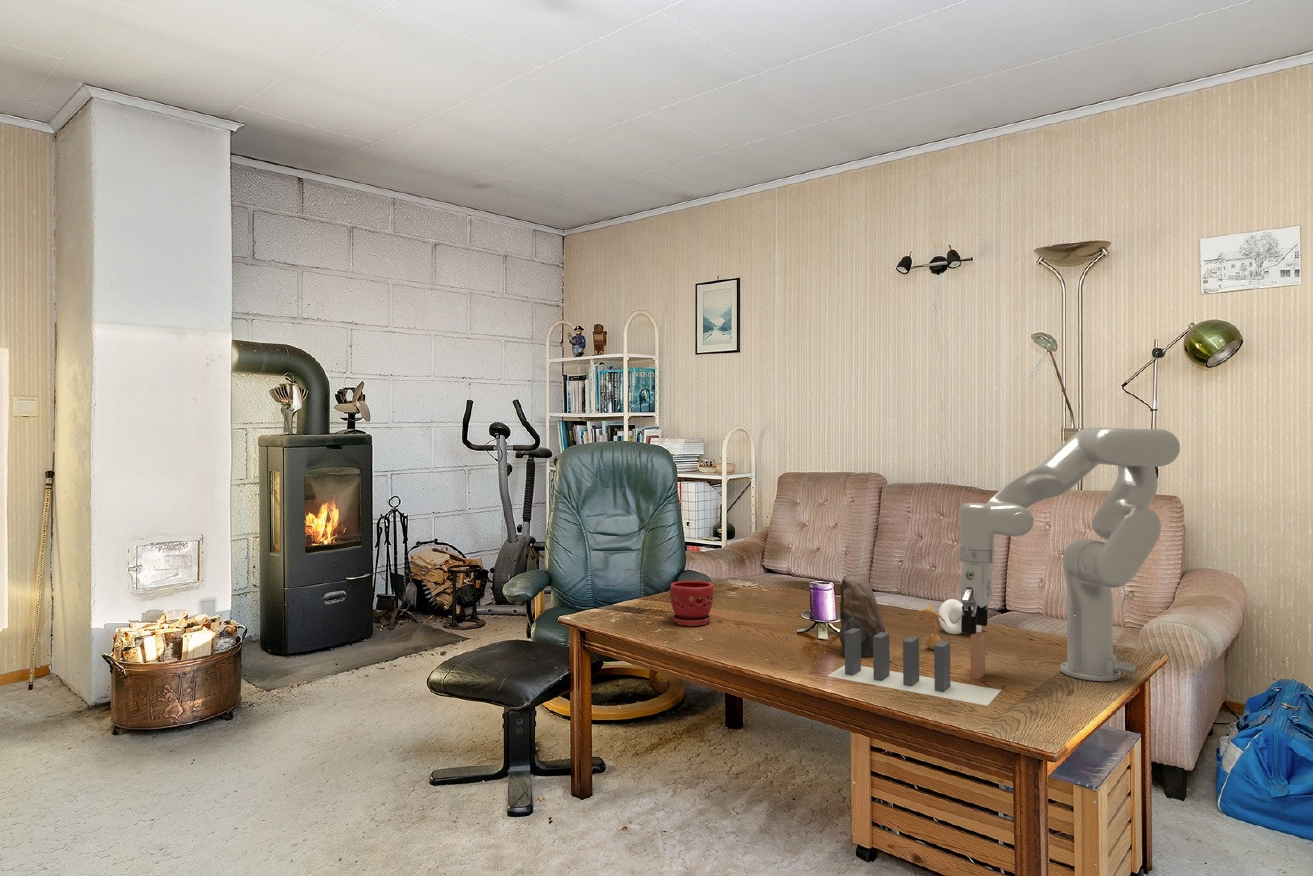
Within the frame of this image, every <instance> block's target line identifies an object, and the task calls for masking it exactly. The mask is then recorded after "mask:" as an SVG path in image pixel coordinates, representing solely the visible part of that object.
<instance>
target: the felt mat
mask: <svg viewBox="0 0 1313 876" xmlns="http://www.w3.org/2000/svg"><path fill="white" fill-rule="evenodd" d="M827 677H830V678H835V679H841V680H846V681H852V682H856V683H861V684H862V683H863V684H866V685H867V684H868V685H873V686H877V687H883V688H889V689H892V690H893V689H895V690H898V691H899V690H900V691H906V692H911V693H917V694H921V695H926V696H931V697H937V698H943V699H949V700H954V701H959V702H965V703H970V704H974V705H975V704H976V705H981V706H985V707H988V706H989V705H990V704H991V703H992V702H993V701H994V699H995V698H996V697H997V696H998V695H999V694H1000V692H1002V689H998V688H993V687H992V688H991V687H986V686H979V685H976V684H975V685H973V684H968V683H962V682H956V681H951V680H950V685H951V686H950V687H949V688H948V689H947V690H946V691H945V692H940V691H935V677H934V678H933V677H928V676H922V675H919V681H918V682H917V683H916V684H915V685H913V686H907V685H903V672H898V671H892V670H890V676H888V677H887V678H885V679H884V680H883V681H879V680H874V678H873V667H869V666H863V665H861V671H860V672H858V673H856V674H855V675H853V676H851V675H846V674H845V664H844V665H843V666H841V667H839V668H837V669H836V670H834V671H833V672H831V673H829V674H828V675H827Z"/></svg>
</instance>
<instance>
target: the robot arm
mask: <svg viewBox="0 0 1313 876" xmlns="http://www.w3.org/2000/svg"><path fill="white" fill-rule="evenodd" d="M1180 452H1181V445H1180V441H1179V440H1178V437H1177V436H1176V435H1175V434H1174V433H1172V432H1171V431H1169V430H1166V429H1163V428H1162V429H1161V428H1122V427H1121V428H1119V427H1085V428H1083V429H1080V430H1078V431H1077V432H1075V433H1074V434H1072V436H1070V437H1069V438H1068V439H1067V440H1066V441H1065V442H1064V443H1063V444H1062V445H1061V446H1059V447H1058V448H1057V449H1056V450H1055V451H1054V452H1053V453H1052V454H1051V455H1049V456H1048V457H1047V458H1046V459H1045V460H1044V461H1043V462H1041V464H1038V465H1037V467H1034V468H1033V469H1031V470H1029V471H1027V472H1025V473H1023V475H1021V476H1018V477H1017V478H1015V479H1014V480H1012V481H1009V483H1007V484H1006V485H1005V486H1003V487H1001V488H1000V490H999V491H997V492H996V493H995V494H994V495H992V497H990V499H988V501H987V502H986V503H983V502H982V503H981V502H965V503H963V504H961V506H960V508H959V543H958V546H959V547H958V562H959V563H962V567H961V578H960V579H961V581H960V583H961V584H960V602H961V603H962V604H963V606H962V621H961V631H962V633H964V634H965V633H966V634H970V635H973V634H976V626H977V625H981V627H987V626H988V616H989V615H988V612H989V611H988V607H989V604H991V602H992V600H993V580H992V579H993V577H992V565H993V564H994V557H995V556H994V555H995V551H994V549H995V548H994V547H995V535H1001V536H1008V537H1020V536H1025V535H1026V534H1028V533H1029V532H1030V531H1031V530H1032V528H1033V526H1034V516H1033V514H1032V513H1031V511H1030V509H1028V507H1030V506H1032V505H1034V504H1035V503H1038V502H1041V501H1043V500H1047V499H1051V498H1055V497H1058V496H1061V495H1063V494H1065V493H1067V492H1069V491H1070V490H1072V489H1073V488H1074V487H1075V486H1076V485H1077V484H1078V483H1079V482H1080V481H1081V480H1083V479H1084V477H1086V476H1087V475H1088V474H1089V473H1090V472H1091V471H1093V469H1095V468H1096V467H1097V466H1098V465H1105V466H1106V465H1107V466H1108V465H1109V466H1117V470H1118V473H1117V479H1116V480H1115V482H1114V484H1113V486H1112V488H1111V490H1110V491H1109V492H1108V494H1107V496H1106V497H1105V498H1104V500H1103V501H1102V503H1101V504H1100V506H1099V507H1098V508H1097V511H1096V512H1095V513H1094V515H1093V518H1092V521H1091V527H1092V530H1093V532H1094V533H1095V534H1096V535H1097V536H1098V537H1100V538H1101V539H1104V540H1106V541H1105V542H1103V541H1099V540H1094V539H1089V538H1082V539H1081V538H1080V539H1077V540H1074V541H1072V542H1071V543H1069V544H1068V545H1067V547H1065V549H1064V551H1063V555H1062V567H1063V572H1064V578H1065V585H1066V600H1067V601H1066V614H1067V615H1066V624H1067V625H1066V626H1067V627H1066V628H1067V629H1066V630H1067V631H1066V632H1067V634H1066V635H1067V637H1066V638H1067V640H1066V641H1067V646H1066V647H1067V648H1066V650H1067V653H1066V655H1067V657H1066V658H1067V659H1066V660H1067V661H1065V662H1062V663H1060V665H1059V670H1060V671H1061V673H1063V674H1065V675H1066V676H1069V677H1072V678H1076V679H1080V680H1085V681H1092V682H1093V681H1095V682H1113V681H1118V680H1119V679H1121V677H1122V673H1123V672H1125V673H1126V674H1127V673H1128V674H1136V665H1135V664H1131V662H1126V661H1119V660H1120V659H1119V660H1118V659H1117V655H1116V654H1114V629H1113V628H1114V623H1113V622H1114V620H1113V619H1114V617H1113V615H1114V612H1113V611H1114V600H1113V593H1112V589H1111V588H1120V587H1124V586H1126V585H1127V584H1128V583H1129V582H1131V581H1132V580H1133V579H1134V577H1135V576H1136V575H1137V573H1138V572H1139V570H1141V568H1142V566H1143V564H1144V563H1145V561H1146V560H1147V559H1148V557H1149V555H1150V554H1151V552H1152V550H1153V549H1154V548H1155V545H1157V542H1158V541H1159V539H1160V536H1161V532H1162V523H1161V520H1160V517H1159V516H1158V514H1157V513H1156V512H1155V510H1153V509H1151V508H1150V505H1151V503H1152V502H1153V500H1154V499H1155V496H1156V494H1157V490H1158V485H1159V484H1158V483H1159V482H1158V477H1157V471H1156V468H1155V467H1165V466H1168V465H1170V464H1172V463H1174V462H1175V460H1176V459H1177V458H1178V457H1179V454H1180ZM971 607H973V610H972V608H971Z"/></svg>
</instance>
